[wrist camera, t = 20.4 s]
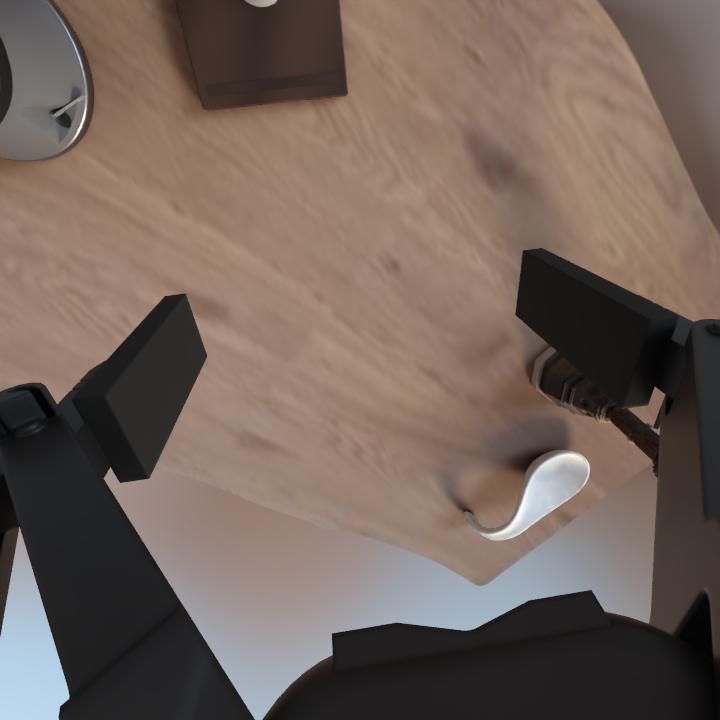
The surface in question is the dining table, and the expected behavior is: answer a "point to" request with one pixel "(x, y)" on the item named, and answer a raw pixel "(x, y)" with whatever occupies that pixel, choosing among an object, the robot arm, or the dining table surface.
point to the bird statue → (590, 401)
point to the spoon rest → (540, 492)
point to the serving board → (264, 51)
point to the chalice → (261, 2)
